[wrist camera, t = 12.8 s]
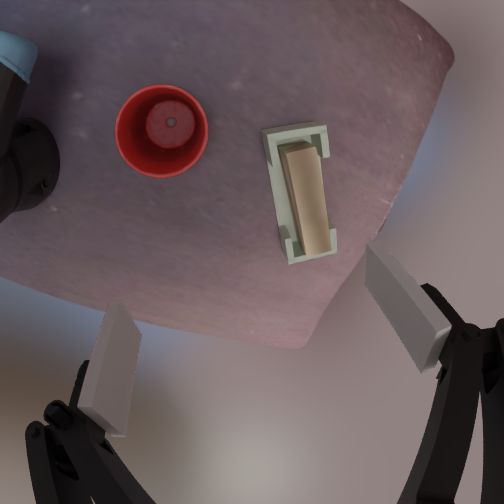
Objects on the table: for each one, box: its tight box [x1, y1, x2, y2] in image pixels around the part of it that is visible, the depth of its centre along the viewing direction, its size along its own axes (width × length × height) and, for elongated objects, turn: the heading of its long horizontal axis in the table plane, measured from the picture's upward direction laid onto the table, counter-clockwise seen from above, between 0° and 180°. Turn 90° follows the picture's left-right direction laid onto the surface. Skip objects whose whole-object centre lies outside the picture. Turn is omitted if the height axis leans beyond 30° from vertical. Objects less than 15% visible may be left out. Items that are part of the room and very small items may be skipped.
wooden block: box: [277, 139, 332, 258], centre depth 42 cm, size 4×16×6 cm, turn 14°
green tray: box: [261, 121, 337, 264], centre depth 43 cm, size 8×20×5 cm, turn 11°
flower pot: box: [115, 84, 209, 178], centre depth 33 cm, size 11×11×10 cm
